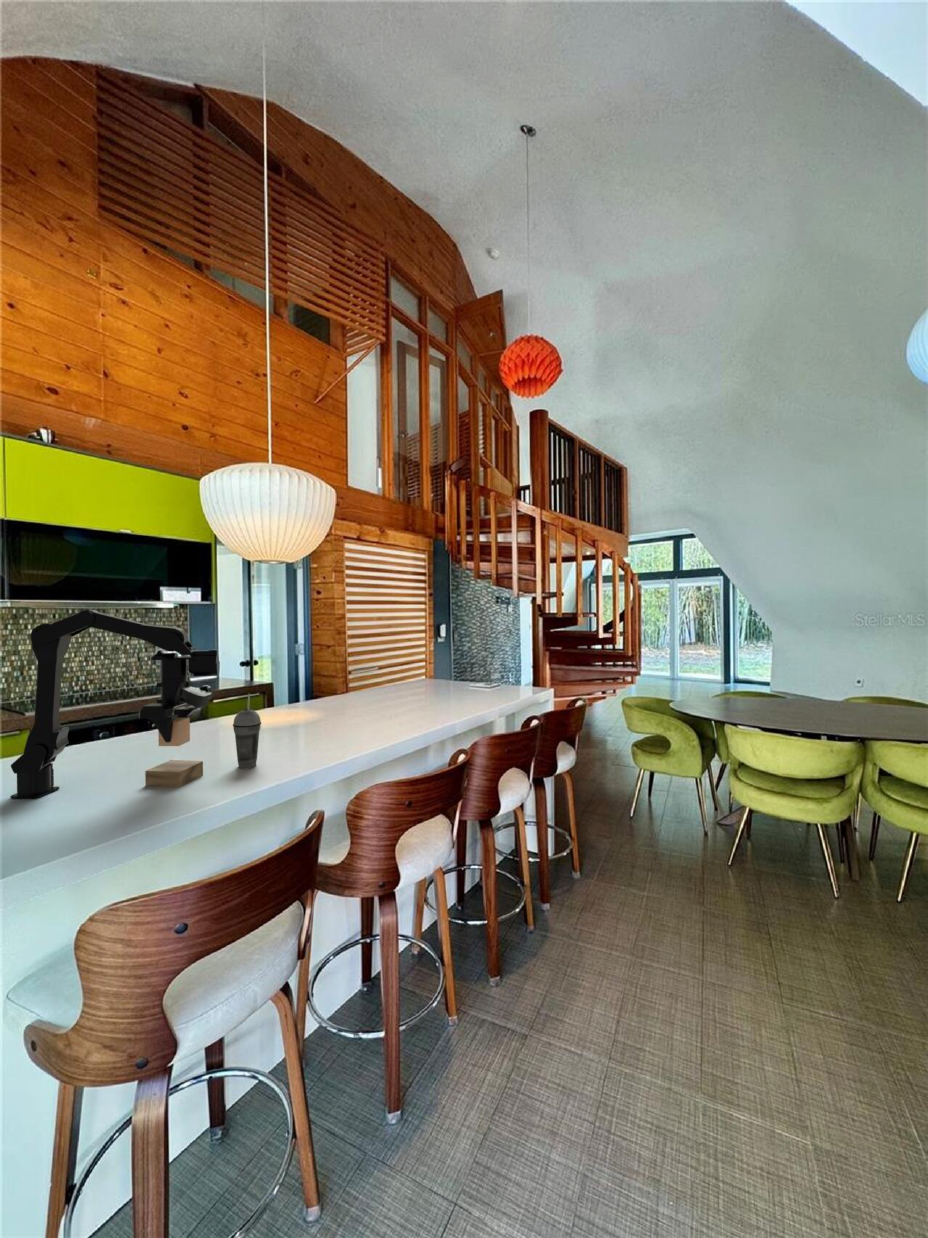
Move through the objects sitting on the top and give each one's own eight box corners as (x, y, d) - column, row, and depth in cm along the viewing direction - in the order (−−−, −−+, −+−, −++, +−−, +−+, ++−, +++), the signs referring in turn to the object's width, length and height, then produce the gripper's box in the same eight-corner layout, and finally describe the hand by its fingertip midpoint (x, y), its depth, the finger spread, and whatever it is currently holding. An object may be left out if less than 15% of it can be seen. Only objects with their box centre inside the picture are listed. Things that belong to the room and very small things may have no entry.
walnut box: (179, 788, 123) (179, 772, 123) (145, 787, 124) (145, 770, 124) (203, 776, 132) (202, 761, 132) (171, 775, 133) (170, 760, 133)
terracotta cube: (178, 746, 126) (178, 721, 126) (158, 746, 126) (158, 721, 126) (189, 741, 131) (189, 717, 131) (170, 740, 131) (170, 717, 131)
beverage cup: (253, 760, 145) (252, 690, 145) (266, 765, 141) (266, 693, 140) (227, 766, 140) (227, 693, 139) (241, 771, 135) (240, 696, 135)
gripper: (184, 683, 118) (185, 749, 119) (223, 673, 137) (224, 731, 137) (137, 682, 119) (137, 749, 119) (182, 673, 137) (183, 730, 138)
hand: (174, 739), depth 128 cm, fingers closed on terracotta cube, 5 cm apart
